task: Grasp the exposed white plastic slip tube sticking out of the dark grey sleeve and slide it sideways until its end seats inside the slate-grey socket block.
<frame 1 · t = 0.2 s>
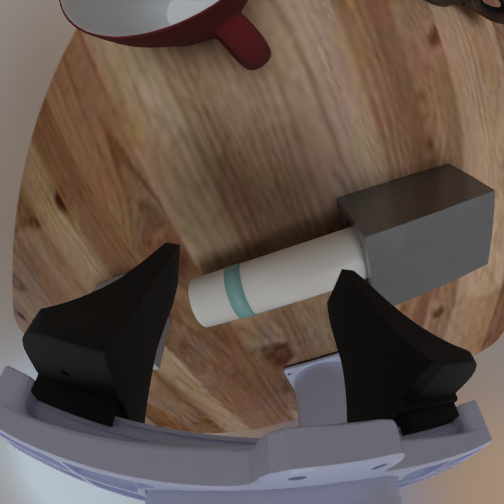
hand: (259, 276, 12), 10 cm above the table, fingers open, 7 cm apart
socket: (133, 302, 26), on the table
sleeve: (402, 214, 22), on the table
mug: (208, 20, 14), on the table
tube: (344, 257, 20), point 3 cm above the table, slide at 0.0 cm
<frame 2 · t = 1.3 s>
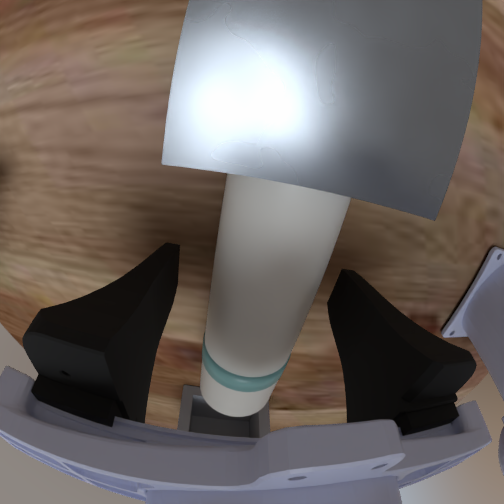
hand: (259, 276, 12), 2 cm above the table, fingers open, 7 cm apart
socket: (222, 404, 21), on the table
sleeve: (311, 21, 8), on the table
tube: (288, 186, 9), point 3 cm above the table, slide at 0.0 cm
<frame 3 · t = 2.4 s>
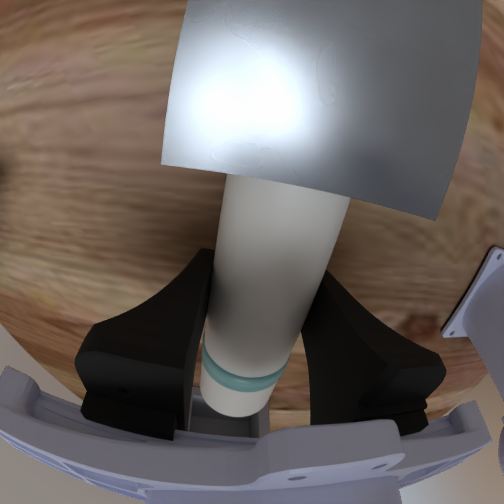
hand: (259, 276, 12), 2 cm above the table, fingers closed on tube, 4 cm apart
socket: (222, 404, 21), on the table
sleeve: (310, 21, 8), on the table
tube: (288, 186, 9), point 3 cm above the table, slide at 0.0 cm, touching gripper
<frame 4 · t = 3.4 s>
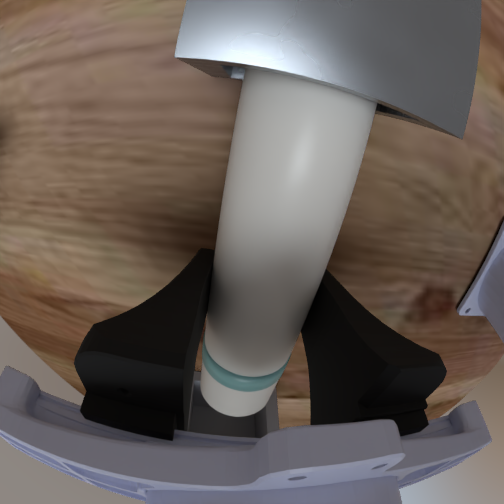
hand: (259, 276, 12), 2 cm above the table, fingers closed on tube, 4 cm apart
socket: (226, 392, 20), on the table
tube: (288, 184, 9), point 3 cm above the table, slide at 2.2 cm, touching gripper
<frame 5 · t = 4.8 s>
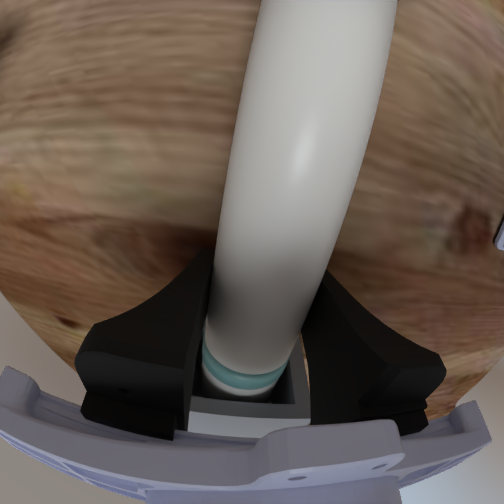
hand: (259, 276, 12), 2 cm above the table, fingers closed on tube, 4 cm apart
socket: (236, 348, 17), on the table
tube: (290, 179, 9), point 3 cm above the table, slide at 7.8 cm, touching gripper
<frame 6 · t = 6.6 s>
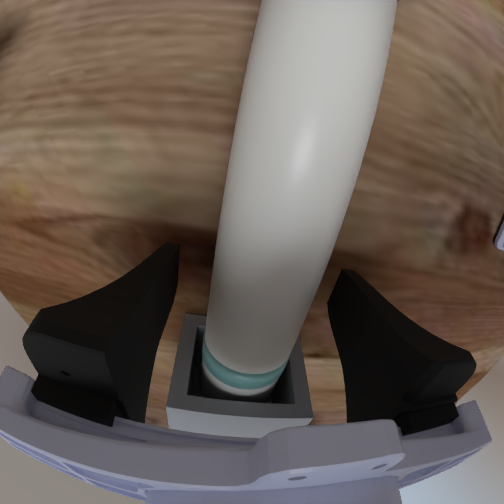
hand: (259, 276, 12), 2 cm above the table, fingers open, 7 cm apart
socket: (236, 347, 17), on the table
tube: (290, 179, 9), point 3 cm above the table, slide at 7.8 cm
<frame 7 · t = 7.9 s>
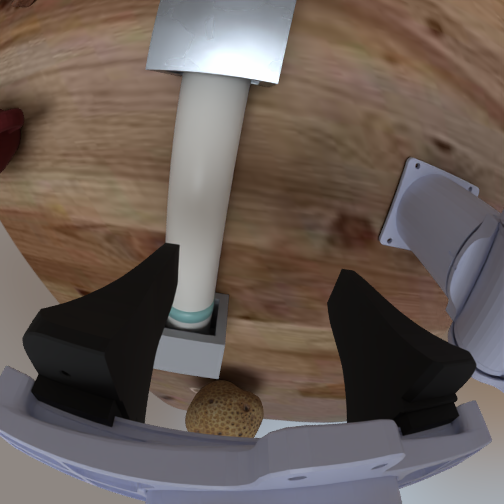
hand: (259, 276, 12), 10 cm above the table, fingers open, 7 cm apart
socket: (192, 308, 27), on the table
natural sponge: (227, 381, 34), on the table
sleeve: (236, 11, 14), on the table
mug: (16, 127, 17), on the table
tube: (197, 209, 19), point 3 cm above the table, slide at 7.8 cm
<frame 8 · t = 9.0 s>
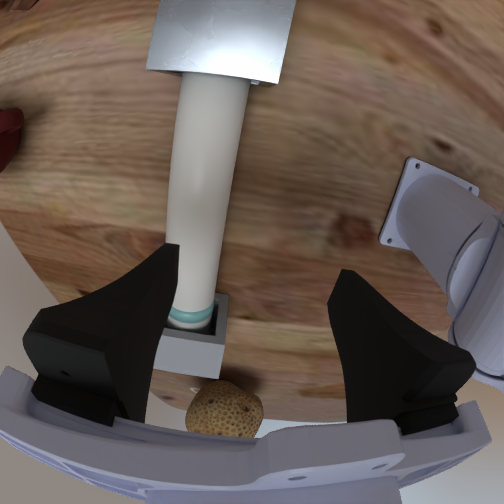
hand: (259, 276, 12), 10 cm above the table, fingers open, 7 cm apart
socket: (192, 308, 27), on the table
natural sponge: (227, 381, 34), on the table
sleeve: (236, 11, 14), on the table
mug: (16, 127, 17), on the table
tube: (197, 209, 19), point 3 cm above the table, slide at 7.8 cm
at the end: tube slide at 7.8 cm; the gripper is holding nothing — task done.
